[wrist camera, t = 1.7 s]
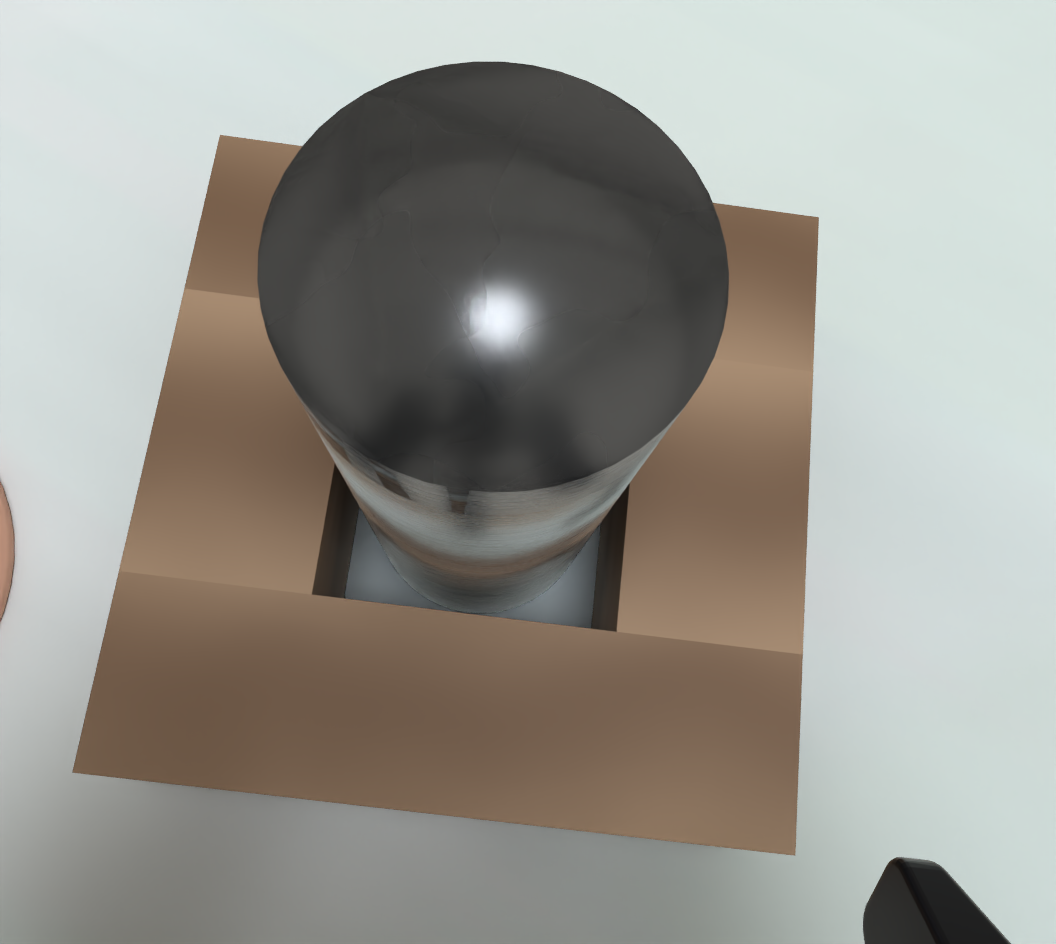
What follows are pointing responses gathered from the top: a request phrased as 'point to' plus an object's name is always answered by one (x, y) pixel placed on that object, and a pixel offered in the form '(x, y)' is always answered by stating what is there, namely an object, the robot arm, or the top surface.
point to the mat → (5, 550)
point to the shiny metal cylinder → (491, 314)
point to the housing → (459, 638)
